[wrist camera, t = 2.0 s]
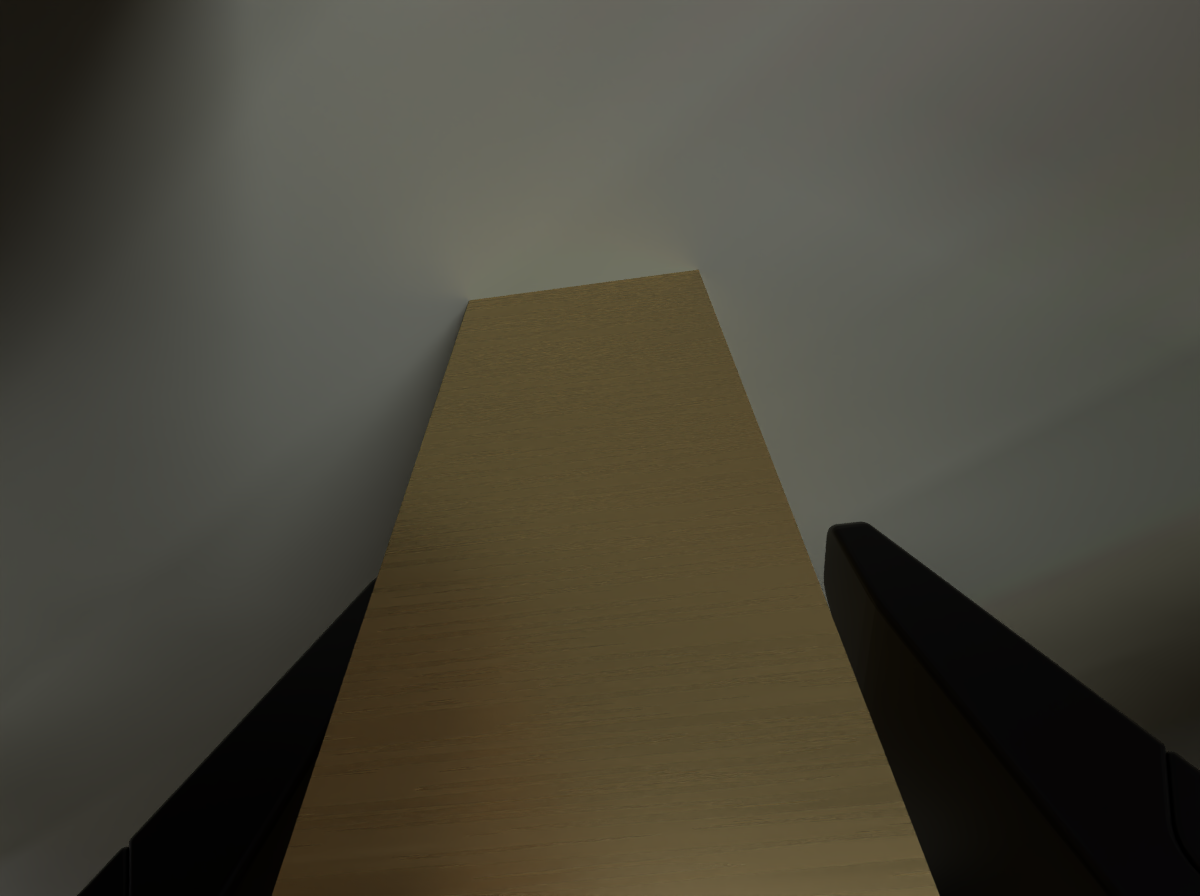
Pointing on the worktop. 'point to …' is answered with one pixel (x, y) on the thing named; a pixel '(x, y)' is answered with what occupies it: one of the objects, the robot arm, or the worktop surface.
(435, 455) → the wooden rectangular block
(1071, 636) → the worktop surface
